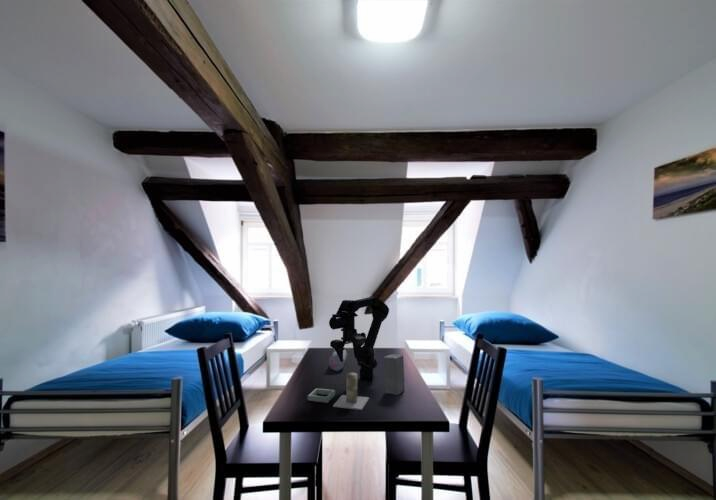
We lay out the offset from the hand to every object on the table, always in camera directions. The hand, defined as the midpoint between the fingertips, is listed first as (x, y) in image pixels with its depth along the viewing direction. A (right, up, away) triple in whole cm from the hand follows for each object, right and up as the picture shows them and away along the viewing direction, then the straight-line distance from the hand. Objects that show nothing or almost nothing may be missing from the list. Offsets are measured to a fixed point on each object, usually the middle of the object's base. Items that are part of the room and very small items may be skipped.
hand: (348, 359), depth 159 cm
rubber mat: (+2, -11, -21) cm, 23 cm away
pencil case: (-7, -14, +32) cm, 35 cm away
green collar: (-11, -11, -15) cm, 22 cm away
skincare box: (+21, -12, -9) cm, 25 cm away
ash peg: (+2, -10, -21) cm, 23 cm away
